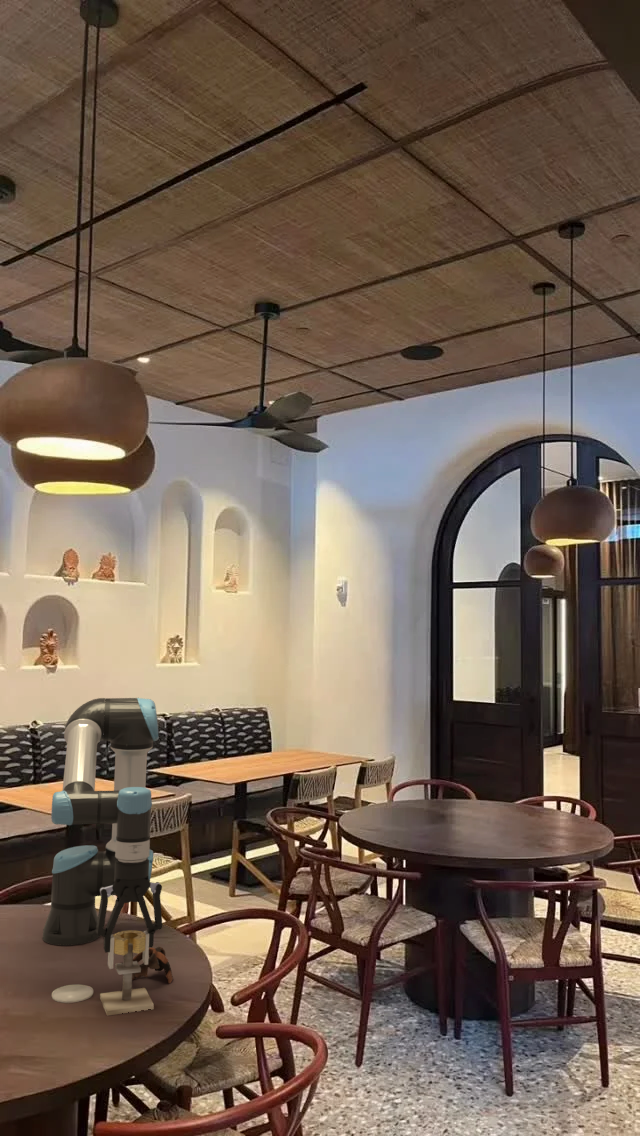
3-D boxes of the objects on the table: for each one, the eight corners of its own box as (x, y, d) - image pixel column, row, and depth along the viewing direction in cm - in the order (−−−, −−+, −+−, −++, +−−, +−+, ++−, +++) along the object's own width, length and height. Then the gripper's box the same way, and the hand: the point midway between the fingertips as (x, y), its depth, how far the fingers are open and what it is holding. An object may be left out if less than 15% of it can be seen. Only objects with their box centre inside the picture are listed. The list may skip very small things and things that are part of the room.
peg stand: (99, 998, 192) (102, 940, 193) (144, 992, 196) (146, 935, 197) (106, 1015, 183) (109, 954, 184) (153, 1009, 186) (155, 949, 188)
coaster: (49, 990, 196) (50, 987, 196) (90, 985, 199) (90, 982, 199) (53, 1005, 188) (53, 1002, 188) (95, 999, 191) (95, 996, 191)
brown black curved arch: (171, 990, 198) (154, 961, 197) (136, 1006, 199) (119, 976, 198) (182, 959, 210) (166, 931, 209) (149, 974, 211) (133, 946, 210)
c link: (110, 946, 192) (110, 932, 193) (141, 942, 195) (141, 928, 195) (115, 956, 186) (115, 942, 186) (147, 952, 189) (147, 938, 189)
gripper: (89, 866, 185) (84, 976, 183) (179, 859, 193) (176, 965, 191) (84, 858, 192) (79, 964, 190) (172, 851, 200) (168, 953, 197)
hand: (127, 964), depth 190 cm, fingers closed on c link, 7 cm apart
